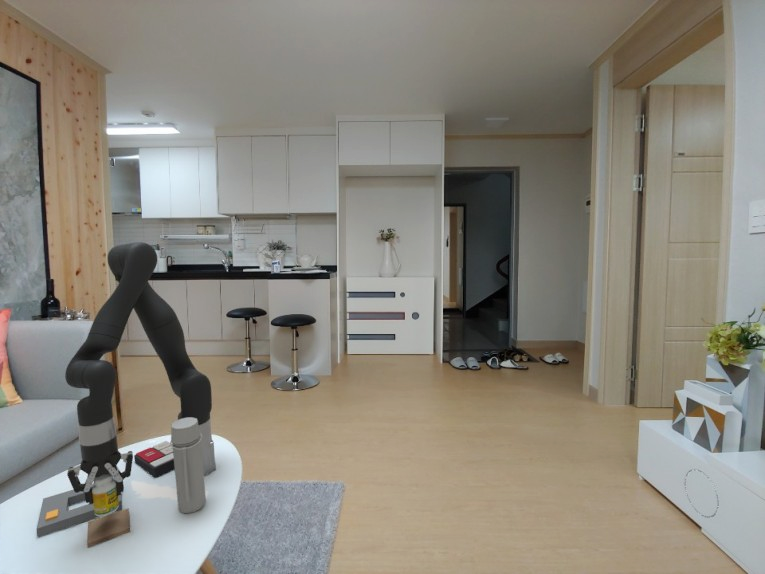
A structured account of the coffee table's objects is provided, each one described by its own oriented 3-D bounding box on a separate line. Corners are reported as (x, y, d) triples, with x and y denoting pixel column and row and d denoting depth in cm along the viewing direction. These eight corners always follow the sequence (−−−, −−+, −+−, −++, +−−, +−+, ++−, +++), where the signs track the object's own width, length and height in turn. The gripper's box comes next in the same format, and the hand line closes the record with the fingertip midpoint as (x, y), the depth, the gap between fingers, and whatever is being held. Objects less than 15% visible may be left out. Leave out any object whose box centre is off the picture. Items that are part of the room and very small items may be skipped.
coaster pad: (128, 511, 110) (128, 507, 110) (130, 532, 103) (130, 527, 102) (88, 525, 105) (88, 521, 105) (87, 548, 97) (86, 543, 97)
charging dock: (120, 483, 122) (119, 473, 122) (122, 509, 111) (121, 498, 111) (44, 506, 112) (43, 496, 112) (37, 537, 101) (36, 526, 100)
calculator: (166, 439, 142) (188, 450, 133) (168, 450, 142) (189, 462, 133) (133, 453, 133) (153, 466, 124) (134, 465, 134) (155, 479, 125)
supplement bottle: (103, 503, 106) (99, 470, 104) (123, 502, 106) (120, 469, 104) (89, 517, 100) (84, 483, 99) (111, 517, 100) (107, 482, 99)
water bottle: (179, 500, 114) (171, 418, 111) (208, 494, 117) (202, 414, 113) (172, 522, 106) (164, 434, 102) (205, 516, 108) (198, 430, 104)
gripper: (131, 422, 107) (137, 480, 110) (63, 438, 99) (71, 500, 102) (132, 434, 101) (139, 495, 103) (60, 452, 93) (69, 518, 95)
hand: (105, 497), depth 102 cm, fingers closed on supplement bottle, 5 cm apart
